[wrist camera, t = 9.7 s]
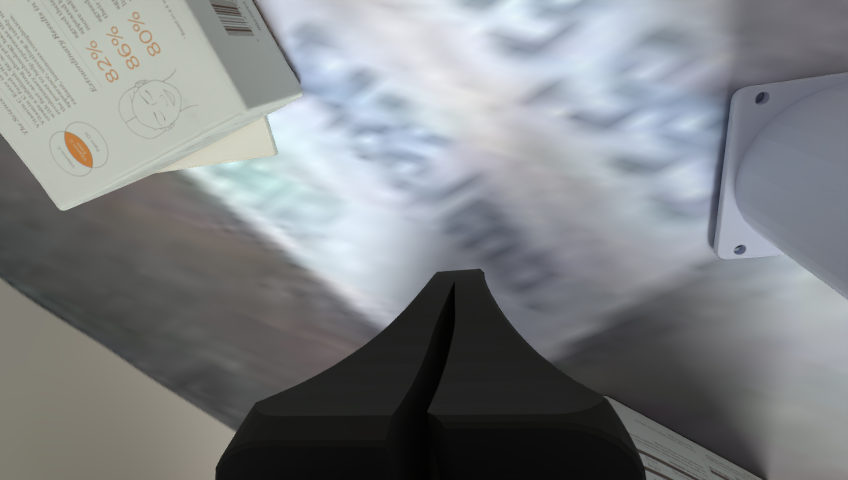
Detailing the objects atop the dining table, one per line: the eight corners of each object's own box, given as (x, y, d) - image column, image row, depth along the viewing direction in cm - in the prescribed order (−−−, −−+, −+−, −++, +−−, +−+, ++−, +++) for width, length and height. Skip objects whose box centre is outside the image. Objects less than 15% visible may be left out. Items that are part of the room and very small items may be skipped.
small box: (211, -90, 18) (45, 28, 21) (102, -139, 13) (-96, 25, 16) (308, 97, 20) (149, 176, 23) (250, 116, 15) (57, 214, 18)
